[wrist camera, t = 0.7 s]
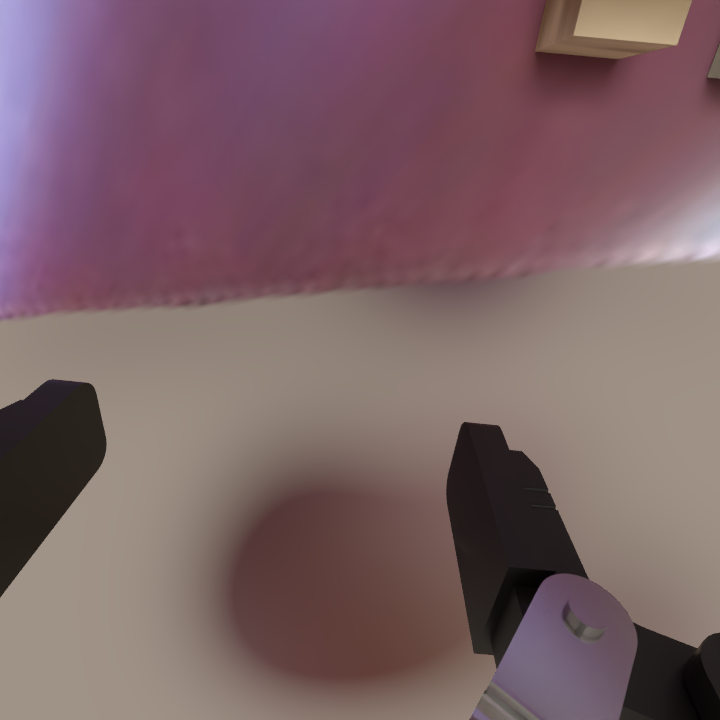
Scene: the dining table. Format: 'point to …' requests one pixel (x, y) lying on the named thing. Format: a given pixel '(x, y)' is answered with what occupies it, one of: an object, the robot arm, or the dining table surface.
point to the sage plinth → (715, 66)
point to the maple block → (611, 26)
